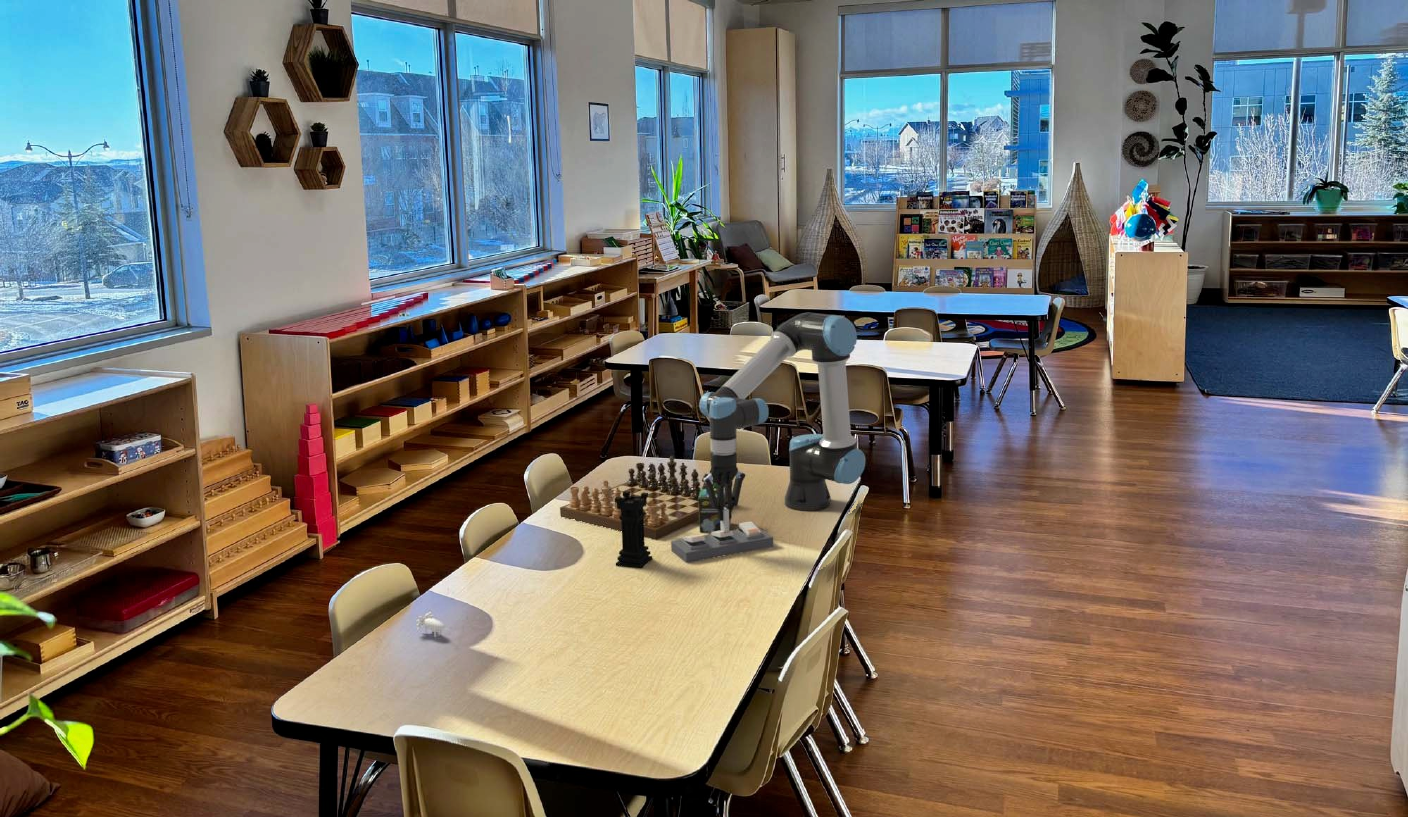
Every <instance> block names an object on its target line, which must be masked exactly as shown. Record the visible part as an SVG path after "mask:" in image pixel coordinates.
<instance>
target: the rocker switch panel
mask: <svg viewBox="0 0 1408 817" xmlns="http://www.w3.org/2000/svg"><path fill="white" fill-rule="evenodd" d="M755 526H756V525H755ZM756 527H757V528H758V529H759V530H760V531H761V534H759V535H754V536H747V535H746V534H745V533H744V531H743V530H742V529H741V528H740V527H739V528H736V529H733V530H730V531H731V532H733V535H731V536H726V537H717V536H712V534H711V533H708V534H704V535H702V536H703V537H705V540H703V541H698V542H688V541H684V539H683V538H680V539H677V540H671V541H670V549H671V552H672V554H673V553H674V555H676V557H679V558H680V559H681V560H682V561H683V562H685V563H686V564H687V563H693V562H699V561H704V560H710V559H714V558H713V557H715V558H719V557H718V556H721V557H724V556H723V555H726V556H730V555H729V554H731V555H735V554H734V553H737V554H741V553H740V552H742V553H747V552H752V550H753V551H757V550H758V551H759V550H763V549H767V548H769V549H770V548H773V547H774V536H772V535H771V534H769V533H768V532H766V531H764V530H763V529H761V528H760V527H758V526H756ZM709 558H710V559H709ZM703 559H704V560H703Z"/></svg>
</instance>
